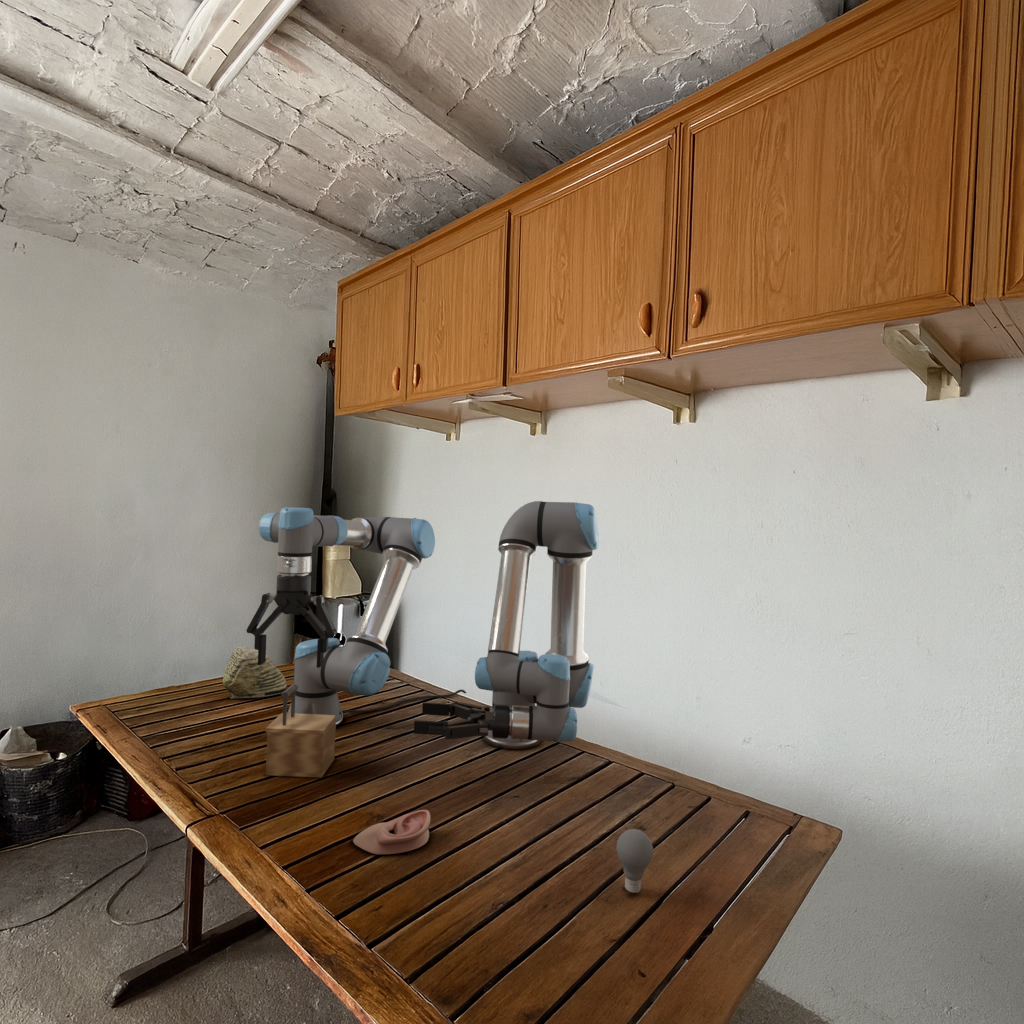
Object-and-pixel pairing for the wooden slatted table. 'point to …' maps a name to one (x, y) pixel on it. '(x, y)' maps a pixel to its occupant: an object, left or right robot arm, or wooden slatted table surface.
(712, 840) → the wooden slatted table surface
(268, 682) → the fossil
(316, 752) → the chest
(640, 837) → the light bulb
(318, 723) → the lid
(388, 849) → the anatomical model
